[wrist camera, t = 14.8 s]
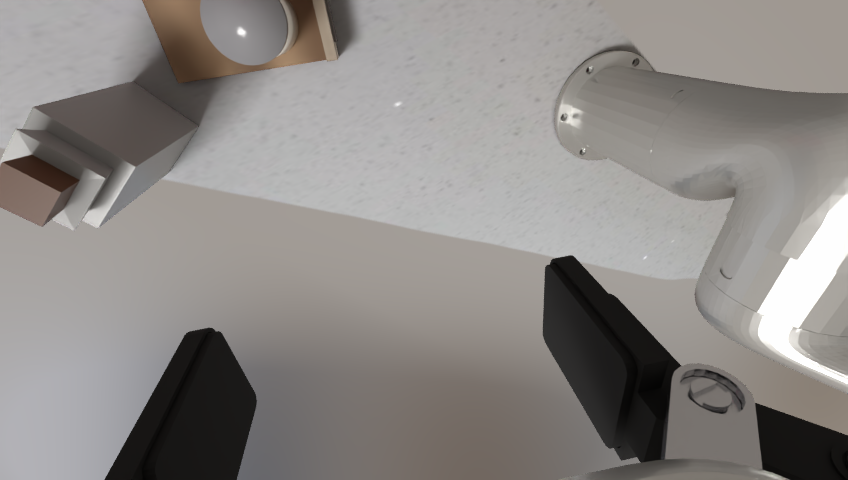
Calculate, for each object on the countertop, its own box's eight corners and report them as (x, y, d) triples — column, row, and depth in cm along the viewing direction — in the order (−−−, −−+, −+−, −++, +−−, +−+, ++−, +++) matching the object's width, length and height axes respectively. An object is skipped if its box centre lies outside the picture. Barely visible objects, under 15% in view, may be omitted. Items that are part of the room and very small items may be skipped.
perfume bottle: (132, 81, 38) (-24, 121, 22) (198, 126, 41) (101, 188, 25) (103, 133, 40) (-60, 203, 24) (168, 172, 43) (61, 257, 27)
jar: (288, -22, 35) (270, -33, 28) (307, 52, 38) (296, 58, 31) (219, -12, 34) (185, -21, 28) (245, 62, 38) (220, 71, 31)
